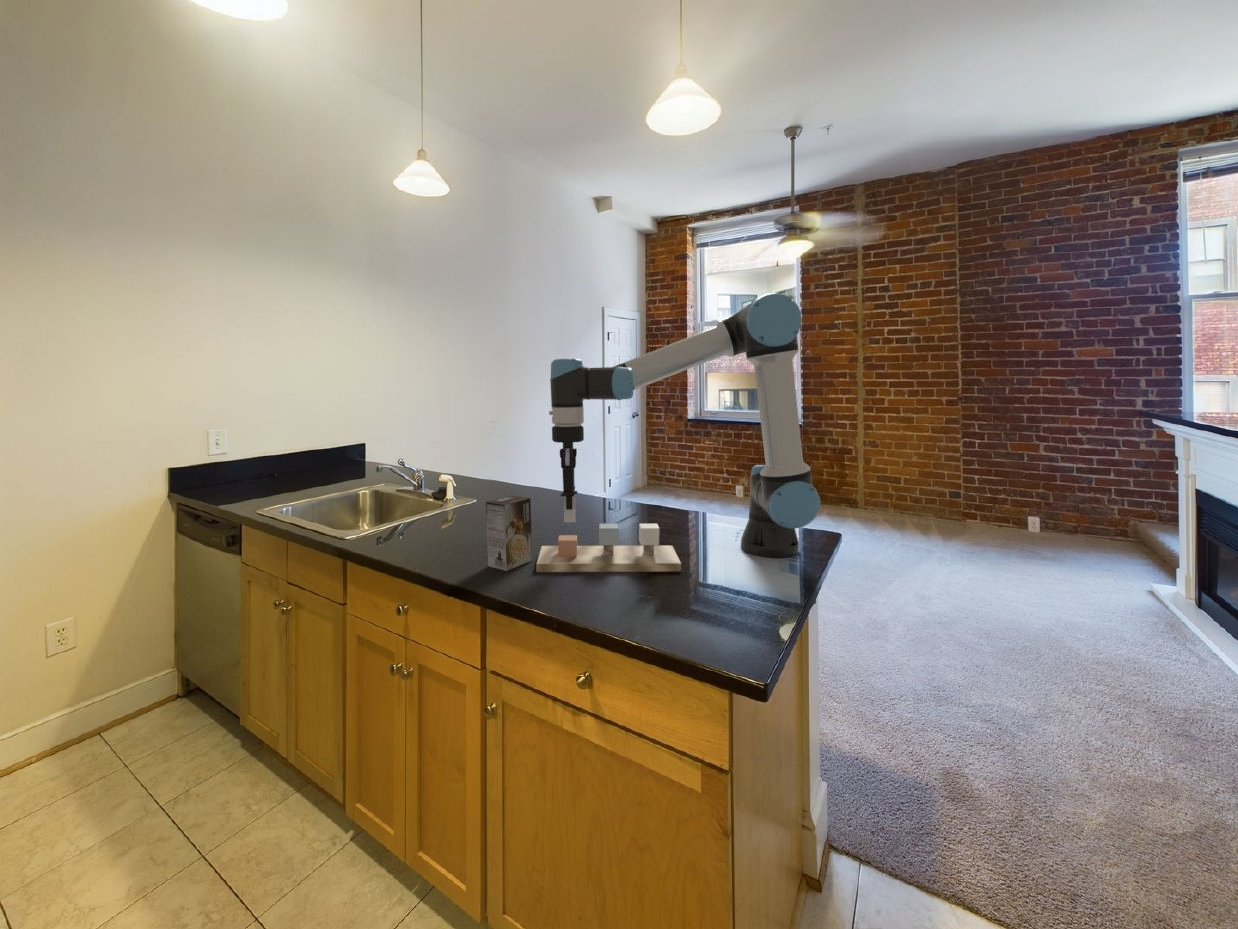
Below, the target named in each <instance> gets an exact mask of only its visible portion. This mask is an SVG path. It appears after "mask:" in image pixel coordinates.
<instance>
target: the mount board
mask: <svg viewBox="0 0 1238 929" xmlns="http://www.w3.org/2000/svg"><path fill="white" fill-rule="evenodd" d="M535 566H536V573H588V572H589V573H592V572H593V573H597V572H598V573H599V572H600V573H607V572H608V573H611V572H613V573H615V572H617V573H619V572H621V573H622V572H623V573H624V572H626V573H628V572H630V573H631V572H634V573H635V572H637V573H639V572H640V573H641V572H645V573H646V572H650V573H651V572H660V573H661V572H682V562H681V560H680V558H679V556H678V555H677V552H676V550H675V548H674V546H673V545H577V557H558V545H541V547H540V551H539V555H538V557H537V561H536V565H535Z"/></svg>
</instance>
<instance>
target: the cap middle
mask: <svg viewBox="0 0 1238 929" xmlns="http://www.w3.org/2000/svg"><path fill="white" fill-rule="evenodd" d="M598 525H599V526H598V527H599V529H598V530H599V531H598V532H599V534H598V536H599V538H598V540H599V541H598V543H599V545H598V546H604V545H614V546H619V525H618V523H599V524H598Z"/></svg>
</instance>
